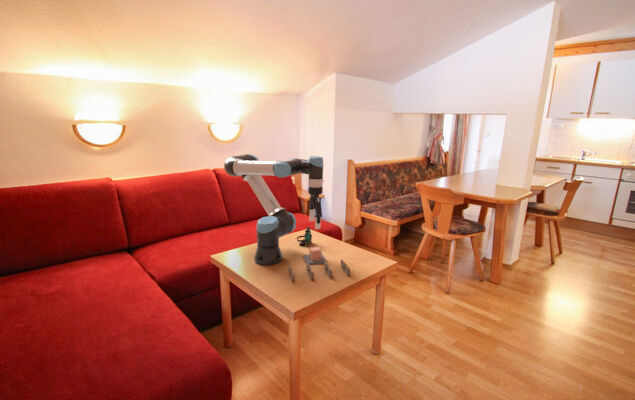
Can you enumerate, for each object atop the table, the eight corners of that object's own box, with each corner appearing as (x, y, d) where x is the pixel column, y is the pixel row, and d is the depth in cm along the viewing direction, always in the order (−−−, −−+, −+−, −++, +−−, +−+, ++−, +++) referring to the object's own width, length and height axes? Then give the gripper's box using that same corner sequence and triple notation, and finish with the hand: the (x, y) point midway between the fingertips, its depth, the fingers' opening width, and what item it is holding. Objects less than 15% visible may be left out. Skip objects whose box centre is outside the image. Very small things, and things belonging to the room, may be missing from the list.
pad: (303, 256, 181) (303, 255, 181) (321, 255, 184) (321, 253, 184) (307, 265, 171) (307, 263, 171) (326, 263, 173) (327, 261, 173)
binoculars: (297, 226, 203) (312, 226, 201) (299, 242, 205) (314, 242, 203) (293, 231, 194) (309, 230, 192) (295, 247, 196) (311, 247, 194)
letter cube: (309, 256, 179) (309, 247, 178) (318, 255, 180) (318, 246, 179) (311, 260, 174) (311, 251, 172) (321, 259, 175) (321, 250, 174)
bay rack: (288, 271, 163) (288, 264, 162) (342, 266, 170) (342, 259, 169) (292, 282, 152) (292, 275, 151) (349, 276, 159) (350, 269, 158)
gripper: (328, 191, 156) (327, 232, 162) (316, 181, 180) (316, 217, 185) (314, 191, 155) (313, 232, 160) (303, 181, 178) (303, 218, 183)
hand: (314, 224), depth 173 cm, fingers open, 13 cm apart
